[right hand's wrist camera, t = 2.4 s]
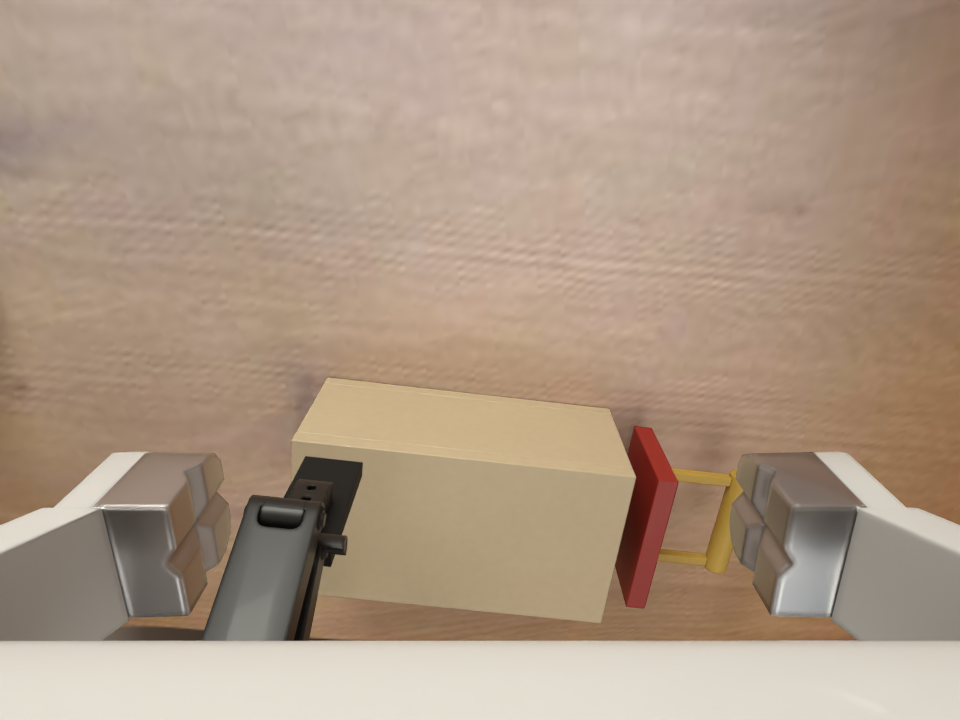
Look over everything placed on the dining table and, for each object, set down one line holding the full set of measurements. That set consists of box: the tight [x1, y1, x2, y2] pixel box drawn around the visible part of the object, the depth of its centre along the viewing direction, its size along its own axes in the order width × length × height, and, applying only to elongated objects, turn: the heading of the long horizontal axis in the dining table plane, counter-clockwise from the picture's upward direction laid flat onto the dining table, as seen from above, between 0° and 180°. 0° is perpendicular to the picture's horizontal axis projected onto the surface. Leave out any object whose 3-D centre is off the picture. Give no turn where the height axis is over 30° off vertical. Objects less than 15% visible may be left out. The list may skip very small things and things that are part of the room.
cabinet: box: [291, 377, 636, 623], centre depth 42 cm, size 19×10×9 cm, turn 83°
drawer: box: [615, 426, 743, 608], centre depth 42 cm, size 24×9×7 cm, turn 83°
